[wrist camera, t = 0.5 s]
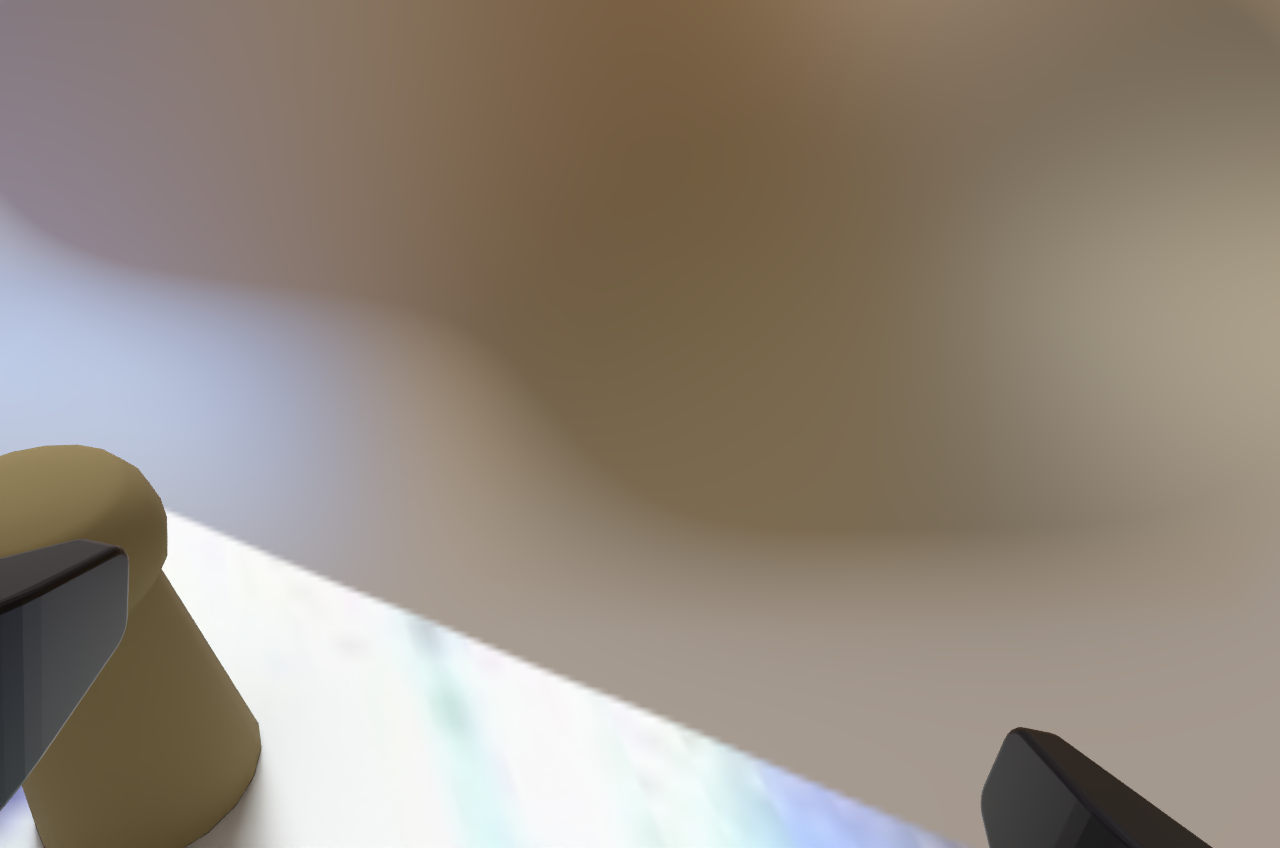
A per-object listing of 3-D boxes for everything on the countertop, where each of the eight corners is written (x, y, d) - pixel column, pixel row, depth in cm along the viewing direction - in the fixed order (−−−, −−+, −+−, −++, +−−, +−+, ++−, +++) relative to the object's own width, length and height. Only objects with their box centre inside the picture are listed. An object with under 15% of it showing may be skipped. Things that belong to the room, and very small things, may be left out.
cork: (290, 691, 28) (209, 417, 22) (209, 878, 23) (71, 595, 17) (106, 680, 28) (-30, 402, 22) (-15, 864, 23) (-239, 576, 17)
